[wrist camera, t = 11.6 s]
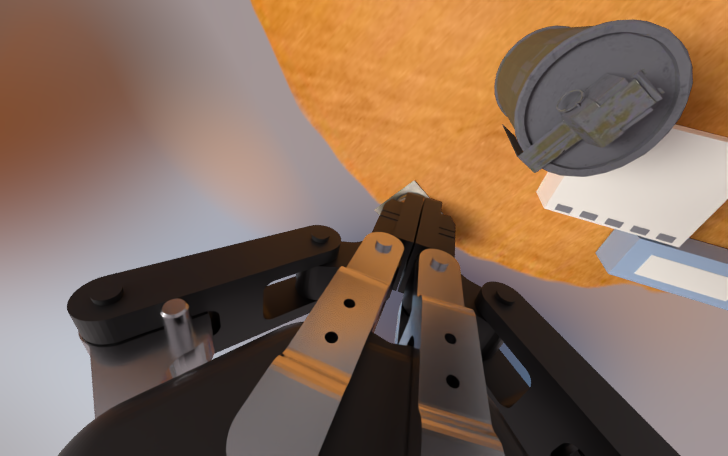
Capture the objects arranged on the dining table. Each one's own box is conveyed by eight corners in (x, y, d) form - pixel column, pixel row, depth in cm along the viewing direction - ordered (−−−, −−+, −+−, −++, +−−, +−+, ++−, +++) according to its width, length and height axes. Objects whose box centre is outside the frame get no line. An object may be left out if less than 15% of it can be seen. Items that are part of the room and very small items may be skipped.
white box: (588, 102, 36) (605, 111, 32) (735, 139, 34) (774, 154, 30) (536, 191, 43) (544, 208, 38) (657, 226, 41) (679, 248, 37)
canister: (554, 1, 32) (651, -32, 16) (617, 72, 34) (764, 107, 17) (472, 88, 38) (482, 128, 22) (529, 144, 40) (577, 221, 23)
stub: (622, 219, 41) (640, 239, 37) (751, 255, 40) (784, 281, 36) (595, 252, 45) (608, 274, 41) (712, 288, 43) (738, 314, 39)
